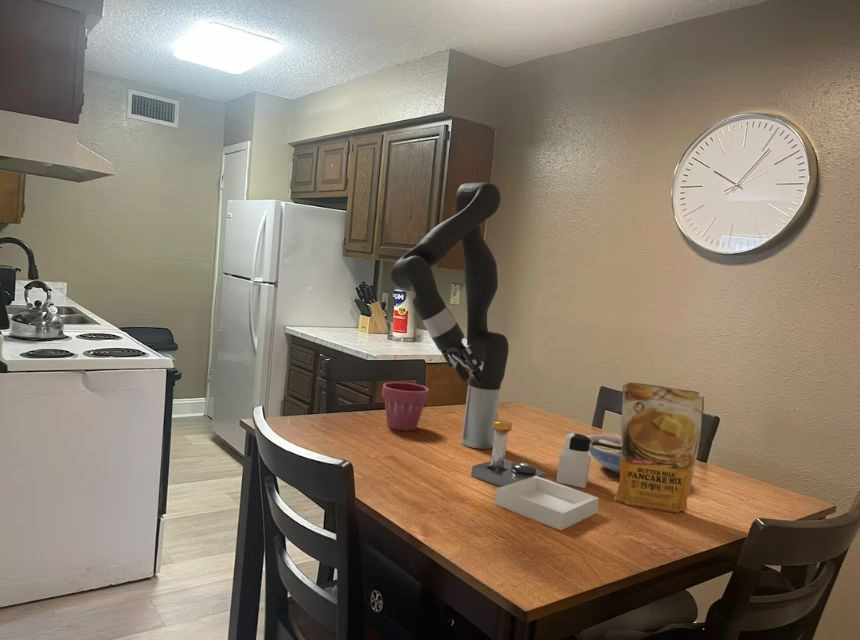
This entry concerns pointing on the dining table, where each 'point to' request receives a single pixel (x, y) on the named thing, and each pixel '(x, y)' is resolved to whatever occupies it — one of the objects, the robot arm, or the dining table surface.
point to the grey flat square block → (506, 472)
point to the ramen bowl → (606, 451)
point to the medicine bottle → (574, 461)
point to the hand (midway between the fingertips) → (474, 380)
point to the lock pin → (499, 444)
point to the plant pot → (404, 404)
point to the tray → (547, 502)
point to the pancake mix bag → (658, 446)
